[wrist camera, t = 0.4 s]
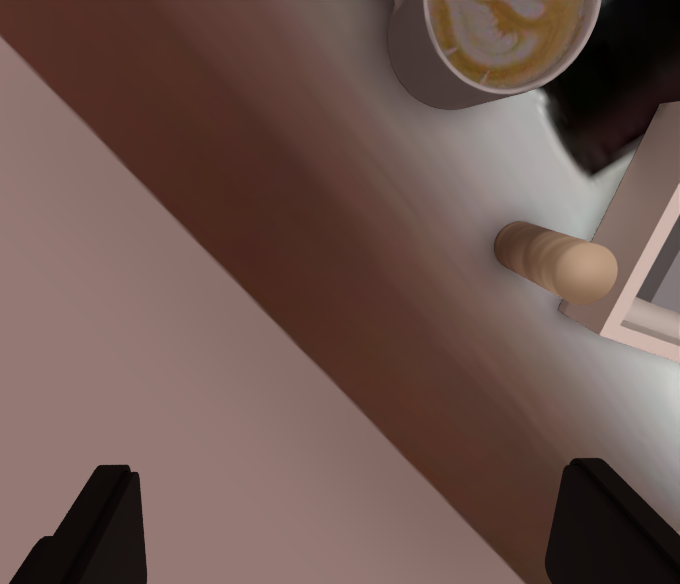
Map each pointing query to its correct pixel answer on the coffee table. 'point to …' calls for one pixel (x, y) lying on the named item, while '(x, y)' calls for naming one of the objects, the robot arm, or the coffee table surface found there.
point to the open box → (640, 242)
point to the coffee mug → (484, 46)
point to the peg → (557, 262)
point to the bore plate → (665, 274)
